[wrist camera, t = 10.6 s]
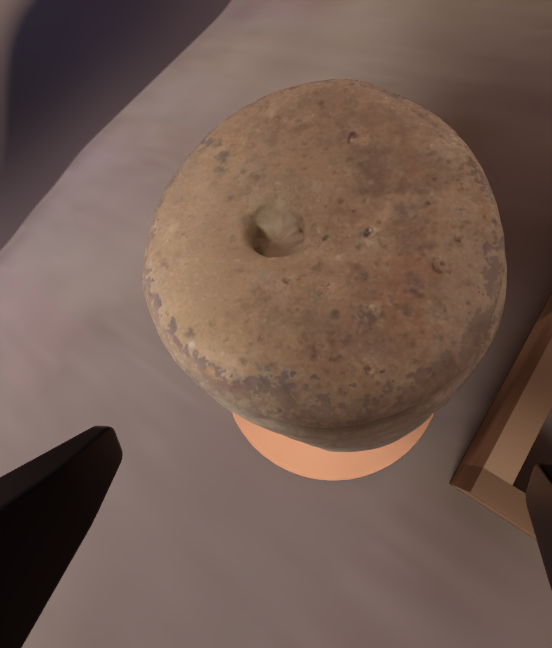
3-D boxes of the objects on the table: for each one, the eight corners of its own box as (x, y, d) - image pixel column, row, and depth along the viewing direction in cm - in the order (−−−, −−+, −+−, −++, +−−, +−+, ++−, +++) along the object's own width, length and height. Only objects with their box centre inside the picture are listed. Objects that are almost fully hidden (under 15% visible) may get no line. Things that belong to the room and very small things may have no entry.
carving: (324, 480, 15) (235, 584, 4) (239, 340, 18) (48, 169, 7) (448, 397, 15) (714, 265, 4) (344, 270, 18) (325, -16, 7)
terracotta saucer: (296, 521, 16) (290, 528, 15) (203, 344, 20) (192, 336, 18) (482, 402, 16) (494, 398, 15) (354, 247, 20) (353, 232, 18)
